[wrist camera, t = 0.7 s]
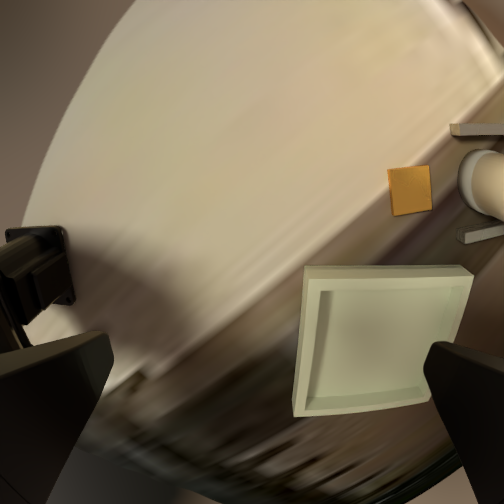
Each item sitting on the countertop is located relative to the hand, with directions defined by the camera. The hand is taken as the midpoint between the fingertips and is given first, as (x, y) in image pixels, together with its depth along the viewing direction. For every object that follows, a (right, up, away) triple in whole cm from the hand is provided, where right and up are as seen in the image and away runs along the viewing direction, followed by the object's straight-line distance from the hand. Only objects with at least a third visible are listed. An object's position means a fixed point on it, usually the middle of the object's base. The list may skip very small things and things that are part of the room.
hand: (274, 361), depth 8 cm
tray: (+9, -4, +15) cm, 18 cm away
